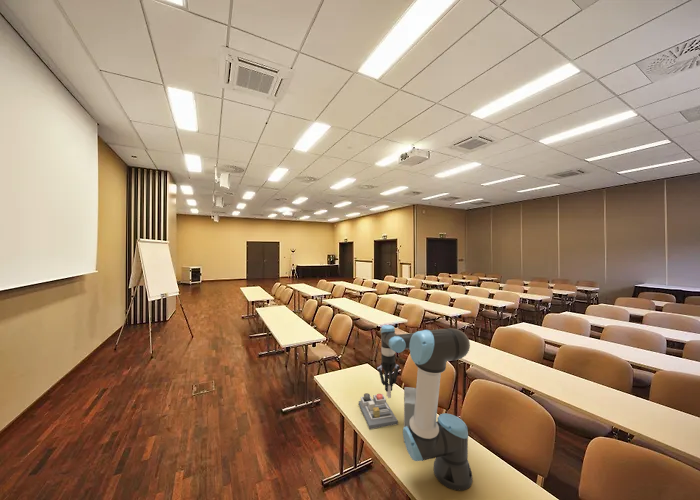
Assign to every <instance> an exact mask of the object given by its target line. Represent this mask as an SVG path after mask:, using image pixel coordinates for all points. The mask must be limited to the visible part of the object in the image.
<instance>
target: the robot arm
mask: <svg viewBox="0 0 700 500" xmlns="http://www.w3.org/2000/svg"><path fill="white" fill-rule="evenodd" d="M380 328H381V329H380V338H381V340H380V341H381V342H380V343H381V346H380V347H381V352H380V353H381V354H380V355H381V356H380V357H381V363H380V365H378V366H377V367H376V370H377V371H378V373H379V378H380V382H381V384H382V385H383V386H384V390H385V392H386V397H387V399H391V398H392V391H393V386H394V385H395V384H396V382H397V378H398V372H399V370H400V368H401V366H400V365H399V364H398V363H396V353H399V354H400V353H402V352H403V351H405V350H409V356H410V358H411V360H412V362H413V363H414V365H415V367H417V373H416V387H415V388H416V396H415V407H414V415H413V416H412V417H411V418H410V421H409V426H408V427H407V426H406V427H404V426H403V428H402V436H403V443H404V442H405V443H404V445H405V448H406V451H407V453H408V455H409V457H410V458H411V459H412V460H413V462H414V461H415V462H424V461H427V460H432V459H434V461H433V474H434V477H435V478H436V479H437V480H438V482H440V483H441V485H442V486H445V487H446V488H448V489H451V490H453V491H466V490H468V489H469V488H470V487H471V486H472V483H473V471H472V469H471V466H470V465H471V464H470V462H469V459H468V457H469V455H468V454H469V453H468V451H469V450H468V449H469V446H468V443H469V442H468V441H469V433H468V430H469V429H468V426H467V424H466V423H465V422H464V421H463V419H461V418H460V417H458V416H456V415H454V414H451V413H444V412H443V413H441V414H439V415H438V406H439V405H438V403H439V396H440V395H439V394H440V386H441V385H440V384H441V377H442V375H441V374H443V373H444V372H445V371H446V369H447V362H450V361H457V360H461V359H464V357H466V356H467V355H468V354H469V351H470V348H471V342H470V339H469V337H468V336H467V334H466V333H465V332H464V331H462V330H460V329H457V328H452V327H449V328H438V329H423V330H418V331H415V332H411V333H401V334H399V333H398V334H397V333H396V330H395V328H396V327H395V326H394V325H391V324H384V325H382V326H381V327H380ZM382 370H383V371H384V373H383V371H382ZM437 415H438V417H437Z"/></svg>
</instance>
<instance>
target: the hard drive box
mask: <svg viewBox="0 0 700 500" xmlns="http://www.w3.org/2000/svg"><path fill="white" fill-rule="evenodd" d="M403 392H404V393H403V428H404V427H406V426H407V427H408V426H409V421H410V418H411V417H412V416H413V415H414V407H415V396H416V387H410V386H409V387H407V386H404V390H403ZM403 443H404V444H405V442H404V441H403Z"/></svg>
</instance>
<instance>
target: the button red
mask: <svg viewBox="0 0 700 500" xmlns="http://www.w3.org/2000/svg"><path fill="white" fill-rule="evenodd" d="M382 394H383V393H377V394H376V395H377V400H380V399H383V395H384V394H383V395H382Z"/></svg>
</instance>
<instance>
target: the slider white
mask: <svg viewBox="0 0 700 500" xmlns="http://www.w3.org/2000/svg"><path fill="white" fill-rule="evenodd" d="M374 407H375V403H374V401H369V402H368V409H369V411H370V412H371V411H373V408H374Z"/></svg>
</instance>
